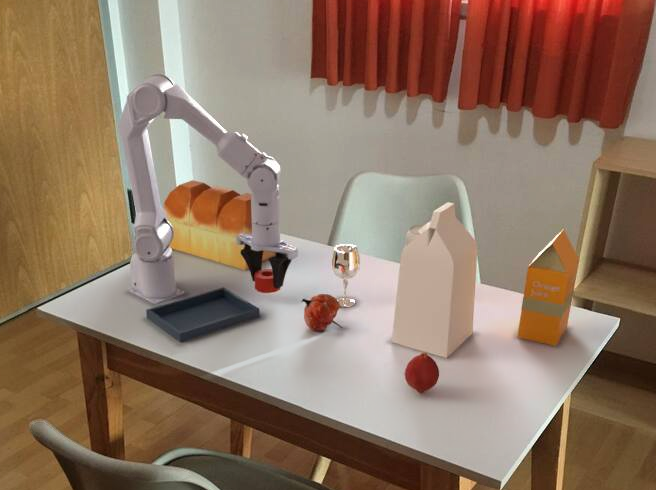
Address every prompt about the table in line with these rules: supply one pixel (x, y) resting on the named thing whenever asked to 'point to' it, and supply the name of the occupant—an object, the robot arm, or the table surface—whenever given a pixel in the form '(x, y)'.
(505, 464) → the table surface
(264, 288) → the ring
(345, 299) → the wineglass
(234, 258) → the bread
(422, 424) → the table surface
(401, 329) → the milk
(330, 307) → the pomegranate
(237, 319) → the tray
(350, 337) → the table surface
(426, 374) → the onion
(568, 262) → the orange juice
